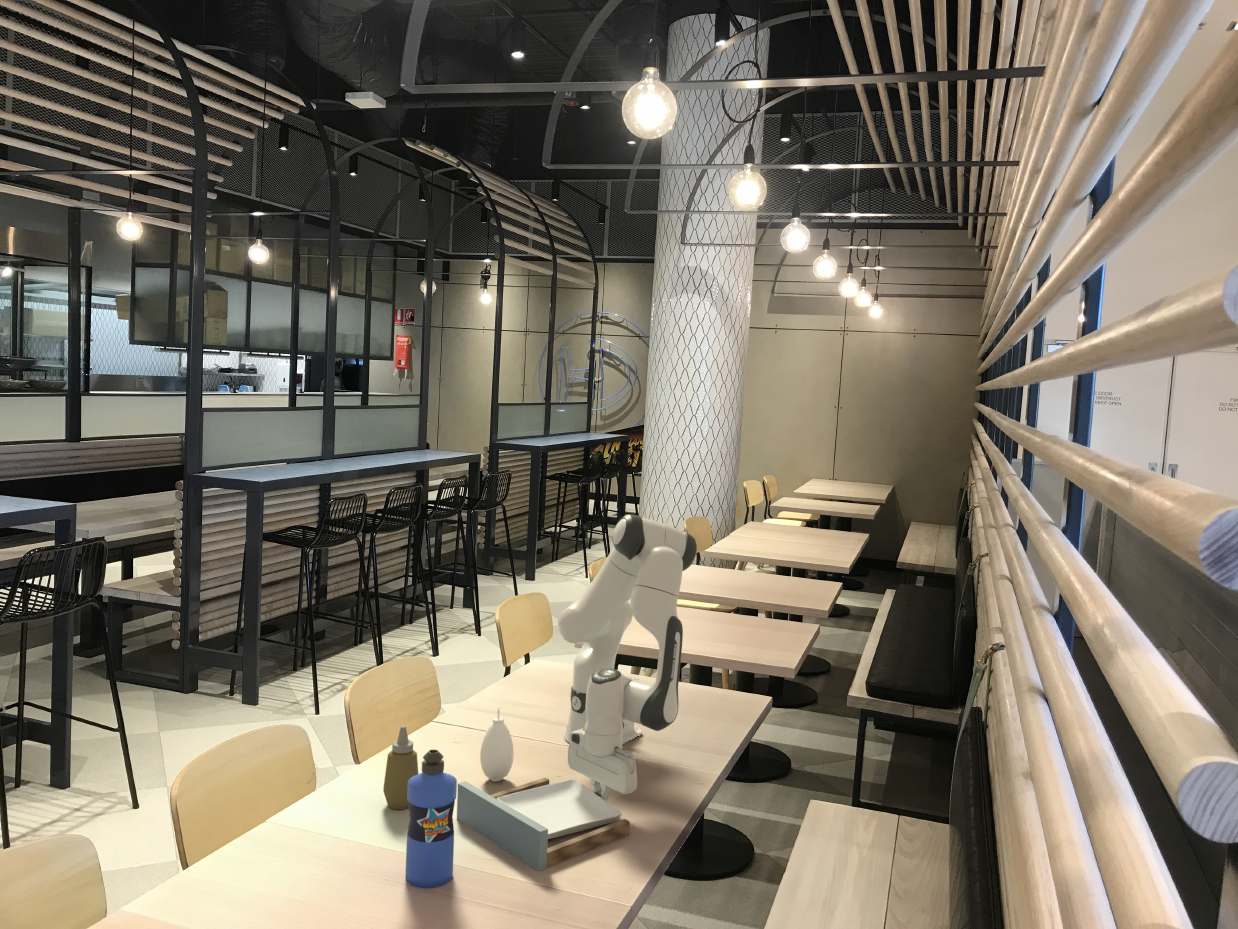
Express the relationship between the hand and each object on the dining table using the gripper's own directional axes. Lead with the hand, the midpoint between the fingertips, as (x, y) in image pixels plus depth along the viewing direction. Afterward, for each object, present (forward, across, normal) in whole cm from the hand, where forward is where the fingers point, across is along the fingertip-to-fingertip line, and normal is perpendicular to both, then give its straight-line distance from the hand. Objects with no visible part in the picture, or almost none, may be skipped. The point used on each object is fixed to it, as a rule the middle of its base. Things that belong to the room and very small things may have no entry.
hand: (600, 799), depth 220 cm
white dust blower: (+2, +26, +10) cm, 28 cm away
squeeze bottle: (+2, +28, +35) cm, 45 cm away
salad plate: (+2, +1, +12) cm, 12 cm away
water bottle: (+2, -2, +48) cm, 48 cm away
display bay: (+2, 0, +16) cm, 17 cm away
